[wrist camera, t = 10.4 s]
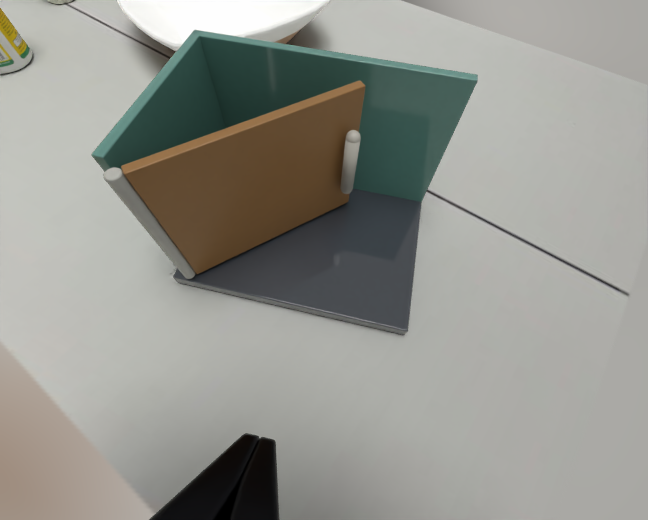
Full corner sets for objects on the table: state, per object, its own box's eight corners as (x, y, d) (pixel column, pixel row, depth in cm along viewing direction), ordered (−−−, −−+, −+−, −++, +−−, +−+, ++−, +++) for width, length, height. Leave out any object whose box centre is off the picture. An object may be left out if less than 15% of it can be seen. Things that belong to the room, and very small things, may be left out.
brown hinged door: (356, 211, 26) (378, 96, 17) (192, 293, 22) (111, 199, 13) (344, 196, 26) (359, 78, 18) (182, 272, 23) (100, 170, 14)
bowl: (350, 51, 39) (355, 0, 35) (183, 113, 33) (162, 61, 28) (263, -18, 47) (257, -67, 43) (115, 21, 41) (90, -32, 36)
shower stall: (404, 335, 22) (479, 254, 12) (177, 282, 24) (76, 170, 14) (418, 204, 28) (478, 74, 18) (235, 167, 29) (193, 28, 19)
